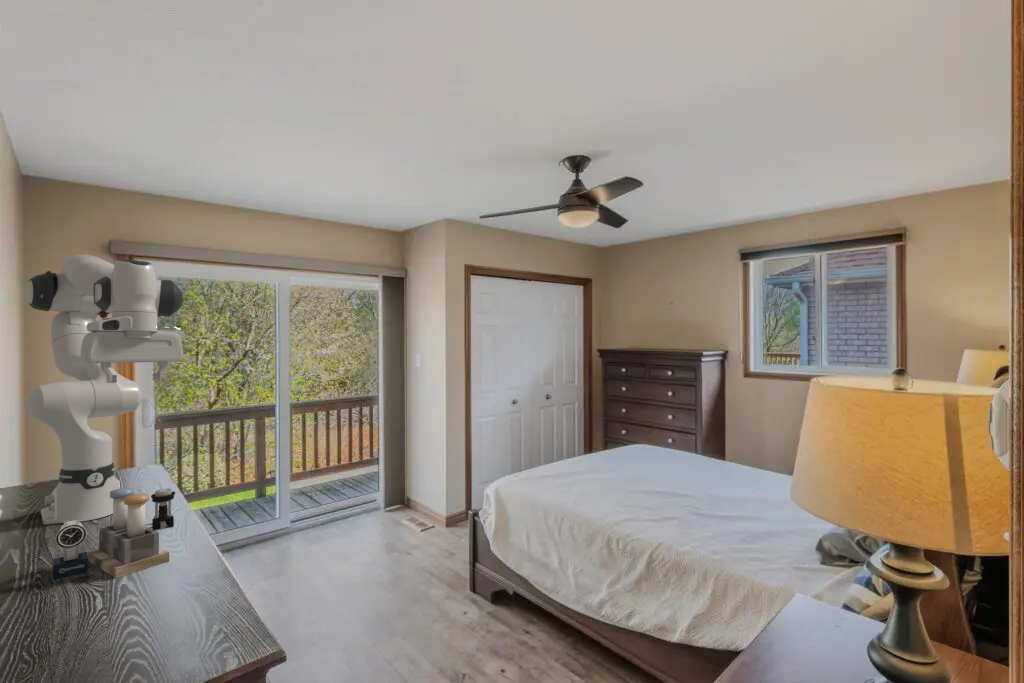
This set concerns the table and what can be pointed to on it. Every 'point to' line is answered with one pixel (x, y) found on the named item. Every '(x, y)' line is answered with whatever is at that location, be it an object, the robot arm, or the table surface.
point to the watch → (70, 551)
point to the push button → (162, 509)
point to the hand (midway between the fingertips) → (135, 381)
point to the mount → (127, 551)
